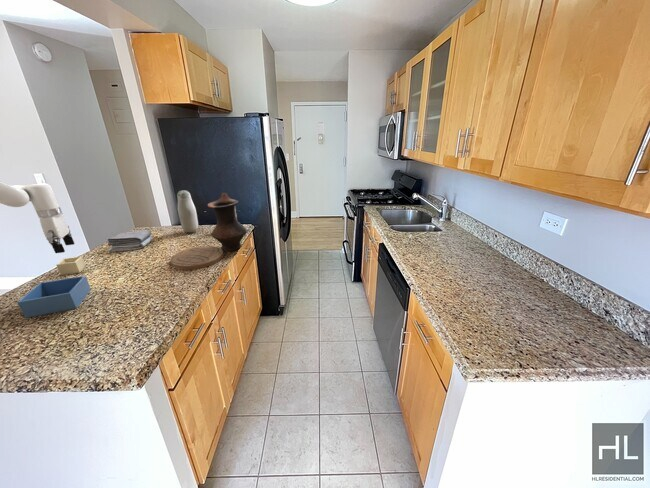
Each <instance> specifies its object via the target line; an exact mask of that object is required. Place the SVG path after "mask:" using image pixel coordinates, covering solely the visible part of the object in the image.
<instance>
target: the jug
mask: <svg viewBox="0 0 650 488" xmlns="http://www.w3.org/2000/svg"><path fill="white" fill-rule="evenodd" d="M237 204H239V200H236V199H234V198H233V199H232V198H231V197H230V196H229V195H228V193H227V192H222V193H221V195H220V197H219V199H217V200H214V201H211V202H209V203H208V204H207V207H208V208H209V209H212V210H213V211H214V215H215V219H216V225H215V227H214V228H213V230H212V232H211V237H212V238H213V239H215V240H217V242H219V243H220V244H221V246H220V248H221V249H222V250H223V252H227V253H228V252H234V251H237V250H239V249H241V248H242V244H241V241H242V239H243V238H244V236H246V234H247V233H248V232H247V228H246V227H245V226H244V225H243V224H241V222H239V221H238V218H237V219H236V216H235V206H236V205H237Z"/></svg>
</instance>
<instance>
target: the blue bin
mask: <svg viewBox="0 0 650 488" xmlns="http://www.w3.org/2000/svg"><path fill="white" fill-rule="evenodd" d="M91 290H92V288H91V285H90V283H89V280H88V278H87V276H86V275H82V276H73V277H69V278H68V277H67V278H62V279H55V280H49V281H41V282H39V283H37V285H36V286H34V287H33V288H31V290H29V291H28V292H27V293H26V294H25V295H24V296H23V297H21V298H20V299H19V300H18V301H17V302H16V304H17V305H18V307H19V309H20V311H21V313H22V315H23V316H24V318H25V319H29V318H34V317H38V316H43V315H49V314H54V313H59V312H66V311H70V310H75V309H77V308H78V307H79V306H80V305H81V303H82V302H83V301H84V299H85V298H86V297H87V296H88V294H89V293H90V292H91Z"/></svg>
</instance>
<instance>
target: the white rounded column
mask: <svg viewBox="0 0 650 488" xmlns="http://www.w3.org/2000/svg"><path fill="white" fill-rule="evenodd" d="M191 195H192V194H191V193H190V192H189V191H188V190H185V189H182V190H179V191H178V192H177V194H176V197H177V213H178V217H179V222H180V226H181V228H182V230H183V231H184V232H186V233H189V234H193V233H195V232H197V231H198V229H199V219H198V214H197V208H196V206H195V204H194V201H193V199H192V196H191Z"/></svg>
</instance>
